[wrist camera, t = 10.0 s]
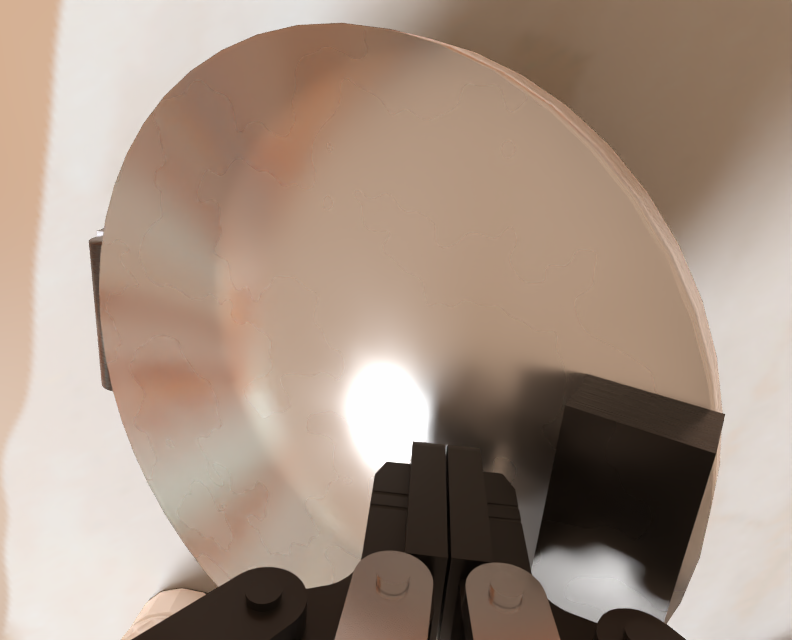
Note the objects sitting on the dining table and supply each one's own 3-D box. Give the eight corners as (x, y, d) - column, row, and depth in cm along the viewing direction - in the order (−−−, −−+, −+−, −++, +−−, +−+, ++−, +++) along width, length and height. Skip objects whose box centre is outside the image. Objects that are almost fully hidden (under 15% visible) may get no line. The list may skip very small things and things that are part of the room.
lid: (854, 53, 10) (877, 30, 7) (618, 796, 16) (586, 925, 14) (107, 19, 19) (-4, 2, 16) (142, 513, 25) (66, 559, 22)
